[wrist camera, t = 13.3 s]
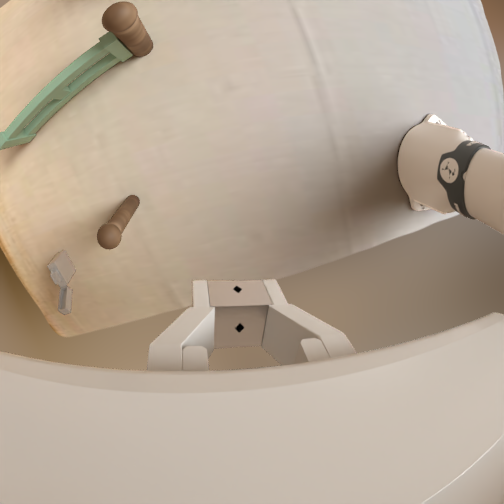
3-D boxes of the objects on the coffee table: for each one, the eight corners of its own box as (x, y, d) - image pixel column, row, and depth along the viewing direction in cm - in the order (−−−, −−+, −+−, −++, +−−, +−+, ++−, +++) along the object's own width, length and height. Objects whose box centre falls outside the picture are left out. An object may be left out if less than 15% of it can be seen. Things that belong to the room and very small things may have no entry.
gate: (133, 55, 26) (117, 39, 19) (29, 142, 27) (-2, 150, 20) (128, 47, 25) (111, 29, 18) (25, 134, 26) (-7, 141, 19)
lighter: (57, 252, 36) (36, 278, 29) (64, 249, 36) (44, 275, 29) (77, 287, 39) (62, 317, 32) (85, 285, 39) (70, 315, 32)
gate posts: (156, 35, 26) (137, -6, 13) (144, 210, 36) (121, 256, 24) (131, 37, 25) (101, -1, 13) (122, 210, 36) (90, 256, 24)
